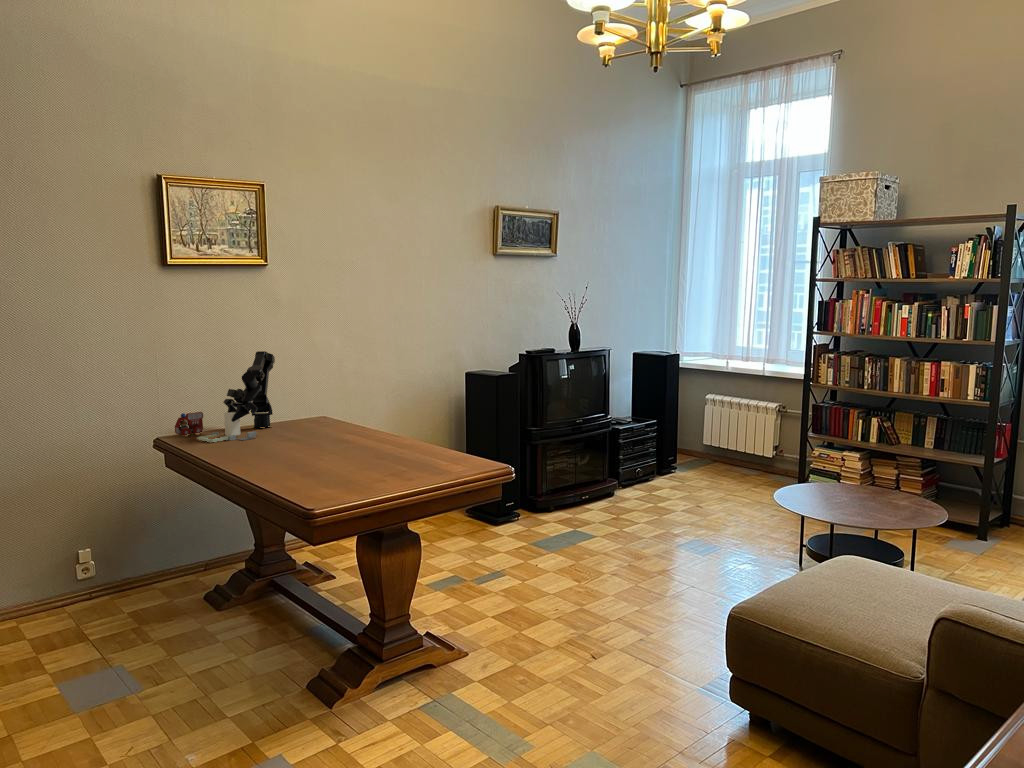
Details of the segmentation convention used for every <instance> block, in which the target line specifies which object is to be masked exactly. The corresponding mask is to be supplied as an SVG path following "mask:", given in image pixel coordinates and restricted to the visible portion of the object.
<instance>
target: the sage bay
mask: <svg viewBox="0 0 1024 768" xmlns="http://www.w3.org/2000/svg"><path fill="white" fill-rule="evenodd" d="M214 436H217V434H213V435H211V434H209V435H202V436H197V437H196V440H197V439H199V440H202V441H207V442H210V443H209V444H212V443H211V442H214V443H218V442H217V441H220V442H224V441H223V440H226V441H230V440H229V437H228V436H227V435H225V436H221V437H220V438H215V439H208V438H209V437H214ZM202 441H201V442H202ZM207 442H206V443H207Z"/></svg>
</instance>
